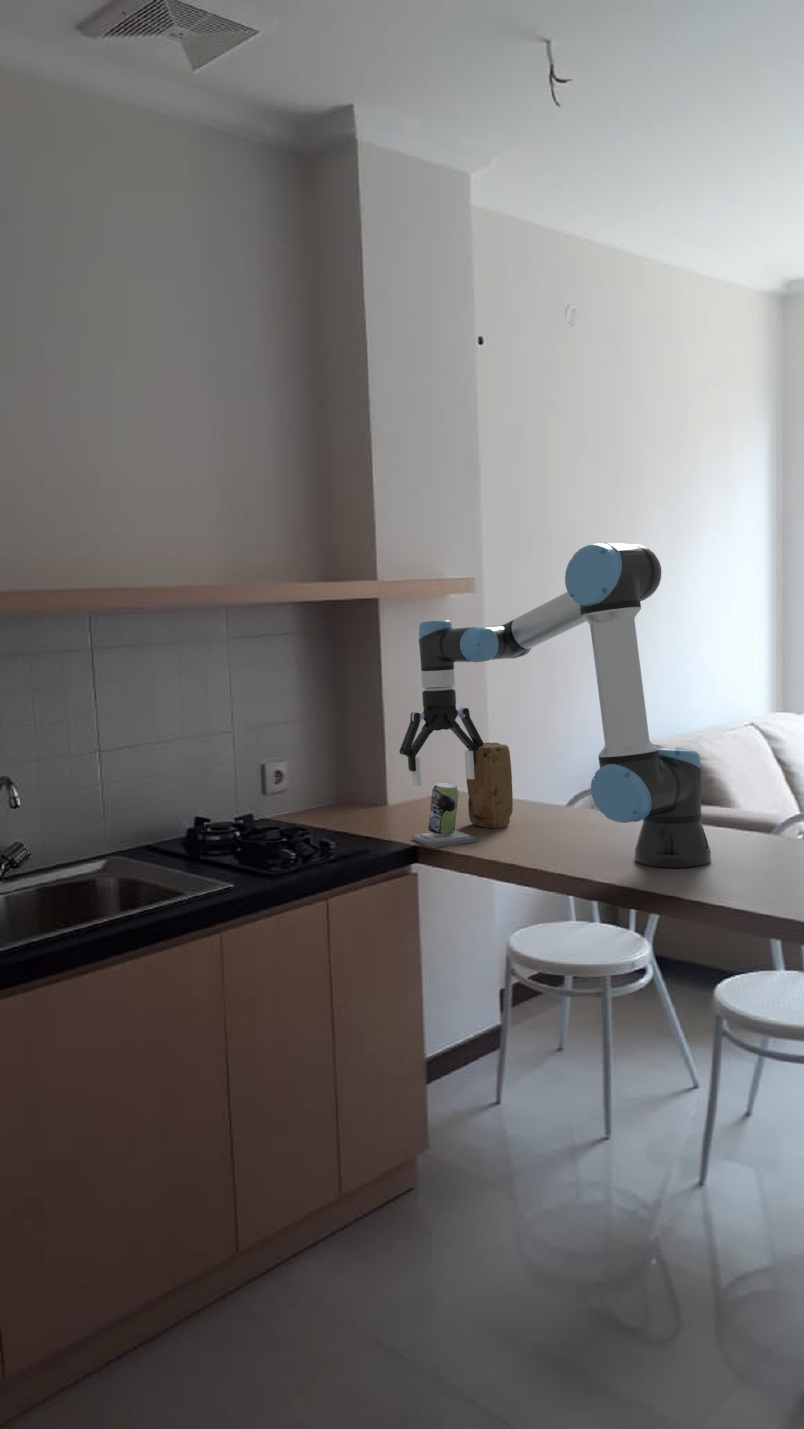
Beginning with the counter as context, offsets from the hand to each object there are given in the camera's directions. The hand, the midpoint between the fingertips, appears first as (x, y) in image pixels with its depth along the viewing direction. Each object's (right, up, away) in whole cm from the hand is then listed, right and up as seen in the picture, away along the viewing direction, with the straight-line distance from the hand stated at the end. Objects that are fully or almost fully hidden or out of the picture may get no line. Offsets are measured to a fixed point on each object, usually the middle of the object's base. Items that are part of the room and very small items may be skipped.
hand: (443, 782), depth 257 cm
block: (+12, -12, +17) cm, 24 cm away
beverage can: (0, -12, +2) cm, 13 cm away
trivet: (0, -14, +2) cm, 14 cm away
